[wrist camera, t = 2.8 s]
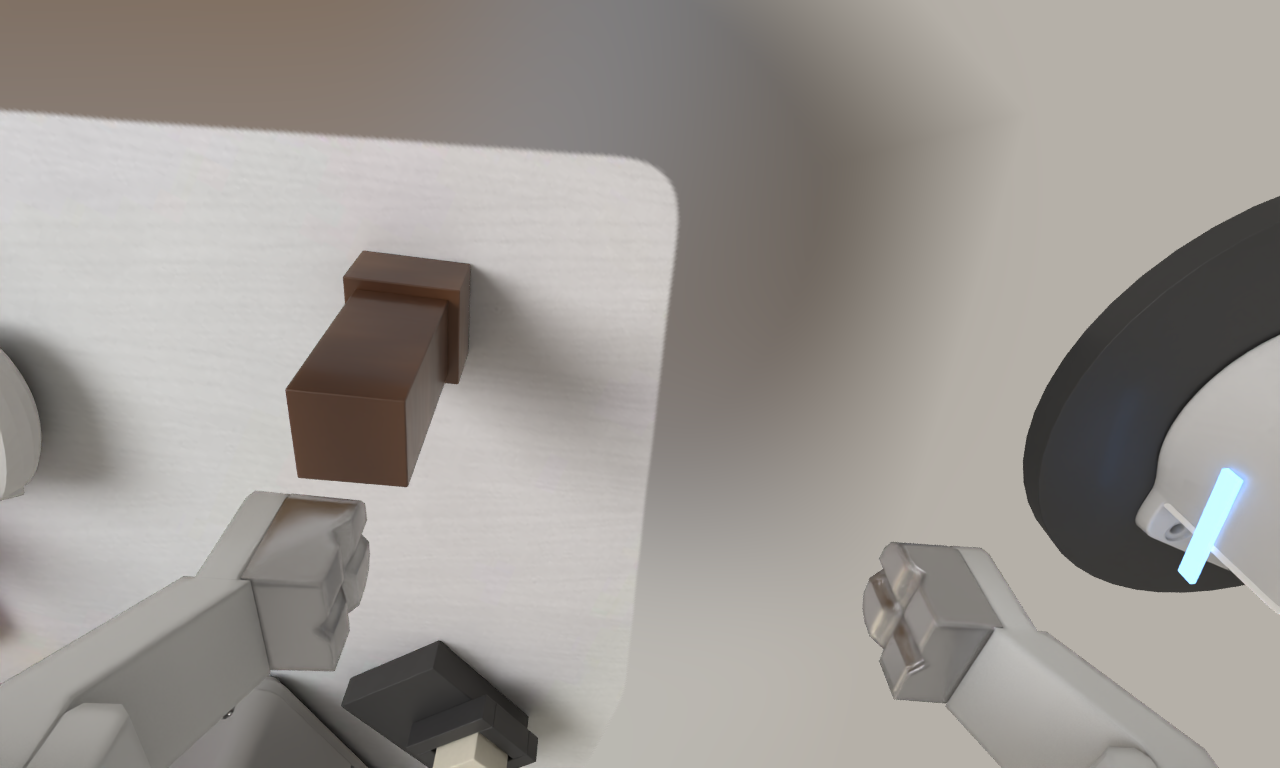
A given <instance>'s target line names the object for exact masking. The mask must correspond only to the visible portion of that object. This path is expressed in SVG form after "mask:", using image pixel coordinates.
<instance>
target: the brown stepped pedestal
mask: <svg viewBox="0 0 1280 768" xmlns="http://www.w3.org/2000/svg"><path fill="white" fill-rule="evenodd" d="M470 276H471V265H470V264H465V263H457V262H449V261H441V260H433V259H425V258H417V257H409V256H401V255H393V254H385V253H377V252H369V251H362V253H361V254H360V255H359V257H358V258H357V259H356V261H355V262H354V263H353V264H352V266H351V267H350V268H349V270H348V271H347V272H346V274H345V275H344V276H343V283H344V296H345V305H344V306H343V308H342V309H341V311H340V312H339V314H338V315H337V316H336V318H335V319H334V321H333V322H332V324H331V325H330V326H329V328H328V329H327V331H326V332H325V334H324V335H323V336H322V338H321V339H320V341H319V342H318V344H317V345H316V346H315V348H314V349H313V351H312V352H311V354H310V355H309V356H308V358H307V359H306V361H305V362H304V364H303V365H302V366H301V368H300V369H299V371H298V372H297V374H296V375H295V376H294V378H293V379H292V381H291V382H290V384H289V385H288V386H287V388H286V390H285V391H286V398H287V405H288V412H289V419H290V426H291V433H292V440H293V447H294V454H295V461H296V468H297V475H298V478H306V479H318V480H330V481H341V482H353V483H365V484H376V485H388V486H399V487H408V485H409V482H410V479H411V477H412V474H413V471H414V468H415V465H416V462H417V460H418V457H419V454H420V451H421V448H422V445H423V443H424V440H425V437H426V434H427V431H428V428H429V426H430V423H431V420H432V417H433V414H434V412H435V409H436V406H437V403H438V400H439V397H440V395H441V392H442V389H443V386H444V383H450V384H458V383H459V380H460V377H461V374H462V371H463V368H464V365H465V362H466V359H467V356H468V349H469V313H470Z"/></svg>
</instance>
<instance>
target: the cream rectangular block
mask: <svg viewBox="0 0 1280 768" xmlns="http://www.w3.org/2000/svg"><path fill="white" fill-rule="evenodd" d="M507 760H508V754H506V753H505V752H504V751H502V750H501V749H500V748H499V747H497V746H496V745H495V744H494V743H492V742H491V741H490V740H488V739H487V738H486V737H485V736H483V735H482V734H481V733H480V732H477V733H475V734H472V735H469V736H467V737H464V738H461V739H459V740H456V741H454V742H451V743H448V744H446V745H443V746H440V747H438V748H437V750H436V755H435V759H434V764H433V768H507Z"/></svg>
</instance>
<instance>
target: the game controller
mask: <svg viewBox="0 0 1280 768" xmlns="http://www.w3.org/2000/svg"><path fill="white" fill-rule="evenodd" d="M40 451H41V426H40V419H39V415H38V410H37V407H36V404H35V401H34V398H33V396H32V394H31V391H30V389H29V387H28V385H27V383H26V382H25V380H24V378H23V376H22V375H21V373H20V372H19V370H18V369H17V368H16V366H15V365H14V364H13V362H12V361H11V360H10V358H9V357H8V356H7V355H6V354H5V353H4V352H3V351H2V350H1V348H0V501H2V500H5V499H9V498H13V497H17V496H21V495H24V486H25V485H26V484H27V483H29V482H30V481H31V479H32V477H33V476H34V474H35V472H36V469H37V466H38V463H39V458H40Z"/></svg>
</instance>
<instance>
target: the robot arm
mask: <svg viewBox="0 0 1280 768" xmlns="http://www.w3.org/2000/svg"><path fill="white" fill-rule="evenodd" d="M366 522H367V516H366V508H365V503H363V502H362V501H359V500H349V499H339V498H329V497H320V496H310V495H300V494H282V493H273V492H264V491H254V492H253V493H252V494H250V495H249V496H248V497H246V498H245V500H244V501H243V503H242V505H241V506H240V508H239V509H238V511H237V512H236V514H235V515H234V517H233V519H232V520H231V522H230V523H229V525H228V526H227V528H226V529H225V531H224V533H223V534H222V536H221V537H220V539H219V540H218V542H217V543H216V545H215V547H214V548H213V550H212V551H211V553H210V554H209V556H208V557H207V559H206V561H205V562H204V564H203V565H202V567H201V568H200V570H199V571H198V573H197V575H196V576H195V577H189V576H183V577H181V578H180V579H178V580H176V581H175V582H173V583H171V584H170V585H168V586H166V587H165V588H163V589H161V590H159V591H158V592H156V593H154V594H153V595H151V596H149V597H148V598H146V599H144V600H143V601H141V602H139V603H137V604H136V605H134V606H132V607H131V608H129V609H127V610H126V611H124V612H122V613H121V614H119V615H117V616H115V617H114V618H112V619H110V620H109V621H107V622H105V623H104V624H102V625H100V626H99V627H97V628H95V629H93V630H92V631H90V632H88V633H87V634H85V635H83V636H82V637H80V638H78V639H77V640H75V641H73V642H71V643H70V644H68V645H66V646H65V647H63V648H61V649H60V650H58V651H56V652H55V653H53V654H51V655H49V656H48V657H46V658H44V659H43V660H41V661H39V662H38V663H36V664H34V665H33V666H31V667H29V668H28V669H26V670H24V671H22V672H21V673H19V674H17V675H16V676H14V677H12V678H11V679H9V680H7V681H6V682H4V683H2V684H0V768H168V767H169V766H170V765H171V764H172V763H173V762H174V761H175V760H176V759H178V758H179V757H180V756H181V755H182V754H183V753H184V752H185V751H186V750H187V749H188V748H190V747H191V746H192V745H193V744H194V743H195V742H196V741H197V740H198V739H199V738H200V737H202V736H203V735H204V734H205V733H206V732H207V731H208V730H209V729H210V728H211V727H213V726H214V725H215V724H216V723H217V722H218V721H219V720H220V719H221V718H222V717H223V716H225V715H226V714H227V713H228V712H229V711H230V710H231V709H232V708H233V707H234V706H236V705H237V704H238V703H239V702H240V701H241V700H242V699H243V698H244V697H245V696H246V695H248V694H249V693H250V692H251V691H252V690H253V689H254V688H255V687H256V686H257V685H259V684H260V683H261V682H262V681H263V680H264V679H265V678H266V677H267V676H268V675H269V674H270V670H305V671H335V669H336V666H337V663H338V661H339V658H340V655H341V653H342V650H343V647H344V645H345V642H346V639H347V637H348V634H349V631H350V629H349V620H348V613H349V612H351V611H352V610H353V609H355V608H356V607H357V606H359V604H360V601H361V598H362V595H363V592H364V589H365V585H366V580H367V576H368V571H369V558H370V550H369V541H368V540H367V539H366V538H365V537H364V536H363V535H362V532H363V529H364V527H365V524H366ZM1135 522H1136V525H1137V526H1138V527H1139V528H1141V529H1142V530H1143V531H1144V532H1145V533H1146V534H1147V535H1149V536H1150V537H1152V538H1154V539H1156V540H1159V541H1161V542H1163V543H1166V544H1168V545H1170V546H1173V547H1175V548H1177V549H1180V550H1182V551H1184V552H1186V553H1185V555H1184V557H1183V560H1182V562H1181V564H1180V566H1179V569H1178V571H1179V573H1180V574H1181V575H1182V576H1183V577H1184V578H1185V579H1186V580H1187V581H1188V582H1189V584H1195V583H1196V581H1197V579H1198V577H1199V575H1200V573H1201V570H1202V568H1203V566H1204V564H1205V562H1206V561H1208V562H1210V563H1213V564H1215V565H1217V566H1220V567H1222V568H1224V569H1227V570H1229V571H1230V572H1232V573H1233V574H1234V575H1235V576H1237V577H1238V578H1239V579H1240V580H1241V581H1242V582H1243V583H1244V584H1245V585H1246V586H1247V587H1248V588H1249V589H1250V590H1251V591H1252V592H1254V593H1255V594H1256V595H1257V596H1258V597H1259V598H1260V599H1261V600H1262V601H1263V602H1264V603H1265V604H1266V605H1267V606H1268V607H1270V608H1271V609H1272V610H1273V611H1274V612H1276V613H1277V614H1279V615H1280V335H1278V336H1276V337H1274V338H1272V339H1270V340H1268V341H1266V342H1264V343H1262V344H1261V345H1259V346H1257V347H1255V348H1254V349H1252V350H1250V351H1249V352H1247V353H1246V354H1244V355H1242V356H1241V357H1239V358H1238V359H1237V360H1235V361H1234V362H1232V363H1231V364H1230V365H1228V366H1227V367H1226V368H1224V369H1223V370H1222V371H1221V372H1219V373H1218V374H1217V375H1216V376H1214V377H1213V378H1212V379H1211V380H1210V381H1209V382H1208V383H1207V384H1205V385H1204V386H1203V387H1202V388H1201V389H1200V390H1199V391H1198V392H1197V393H1196V394H1195V396H1194V397H1193V398H1192V399H1191V400H1190V401H1189V402H1188V403H1187V405H1186V406H1185V407H1184V408H1183V410H1182V411H1181V412H1180V414H1179V415H1178V416H1177V418H1176V419H1175V421H1174V422H1173V424H1172V426H1171V428H1170V429H1169V431H1168V433H1167V435H1166V437H1165V439H1164V442H1163V444H1162V447H1161V450H1160V454H1159V458H1158V465H1157V473H1156V479H1155V483H1154V486H1153V488H1152V490H1151V491H1150V493H1149V494H1148V496H1147V497H1146V499H1145V500H1144V502H1143V503H1142V505H1141V507H1140V509H1139V510H1138V513H1137V515H1136V518H1135ZM879 560H880V562H881V564H882V567H883V569H882V570H881V571H879V572H878V573H876V574H875V575H873V576H872V577H870V579H869V581H868V584H867V586H866V588H865V591H864V595H863V615H864V621H865V624H866V627H867V630H868V633H869V636H870V637H871V638H872V639H873V640H874V641H875V642H876V643H877V644H879V645H880V646H881V647H882V648H883V649H884V650H883V652H882V655H881V657H880V660H879V662H880V665H881V667H882V670H883V672H884V675H885V678H886V680H887V683H888V685H889V688H890V690H891V693H892V696H893V698H894V699H896V700H909V701H922V702H934V703H947V704H946V707H947V709H948V710H949V711H950V712H951V713H952V714H953V715H954V716H955V717H956V718H957V719H958V721H959V722H960V723H961V724H962V725H963V726H964V727H965V728H966V729H967V730H968V731H969V733H970V734H971V735H972V736H973V737H974V738H975V739H976V740H977V741H978V742H979V744H980V745H981V746H982V747H983V748H984V749H985V750H986V751H987V752H988V753H989V754H990V756H991V757H993V759H994V760H995V761H996V762H997V763H998V764H999V765H1000V766H1001V768H1218V766H1217V765H1216V764H1215V762H1214V761H1213V759H1212V758H1211V757H1210V755H1209V754H1208V753H1207V751H1206V750H1205V749H1204V748H1203V747H1201V746H1200V745H1199V744H1197V743H1196V742H1195V741H1193V740H1192V739H1191V738H1189V737H1188V736H1187V735H1185V734H1184V733H1183V732H1181V731H1180V730H1178V729H1177V728H1176V727H1174V726H1173V725H1172V724H1170V723H1169V722H1168V721H1166V720H1165V719H1164V718H1162V717H1161V716H1160V715H1158V714H1157V713H1155V712H1154V711H1153V710H1151V709H1150V708H1149V707H1147V706H1146V705H1145V704H1143V703H1142V702H1141V701H1139V700H1138V699H1137V698H1135V697H1134V696H1133V695H1131V694H1130V693H1129V692H1127V691H1126V690H1125V689H1123V688H1122V687H1120V686H1119V685H1117V684H1116V683H1115V682H1114V681H1112V680H1111V679H1110V678H1108V677H1107V676H1106V675H1104V674H1103V673H1102V672H1100V671H1099V670H1098V669H1096V668H1095V667H1094V666H1092V665H1091V664H1090V663H1088V662H1087V661H1086V660H1084V659H1083V658H1081V657H1080V656H1079V655H1077V654H1076V653H1075V652H1073V651H1072V650H1071V649H1069V648H1068V647H1067V646H1065V645H1064V644H1063V643H1061V642H1060V641H1059V640H1057V639H1056V638H1054V637H1053V636H1052V635H1050V634H1049V633H1048V632H1044V631H1037V629H1036V628H1035V626H1034V625H1033V623H1032V622H1031V620H1030V618H1029V617H1028V615H1027V613H1026V612H1025V611H1024V609H1023V607H1022V606H1021V604H1020V602H1019V601H1018V599H1017V598H1016V596H1015V594H1014V593H1013V591H1012V590H1011V588H1010V587H1009V585H1008V583H1007V582H1006V580H1005V579H1004V577H1003V575H1002V574H1001V572H1000V571H999V569H998V568H997V566H996V564H995V563H994V561H993V560H992V558H991V556H990V555H989V554H988V553H987V552H986V551H985V550H983V549H982V548H976V547H960V546H942V545H928V544H914V543H913V544H912V543H899V542H891V543H890V544H888V545H887V546H886V547H885V548H884V550H883V552H882V554H881V556H880V558H879Z"/></svg>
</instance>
